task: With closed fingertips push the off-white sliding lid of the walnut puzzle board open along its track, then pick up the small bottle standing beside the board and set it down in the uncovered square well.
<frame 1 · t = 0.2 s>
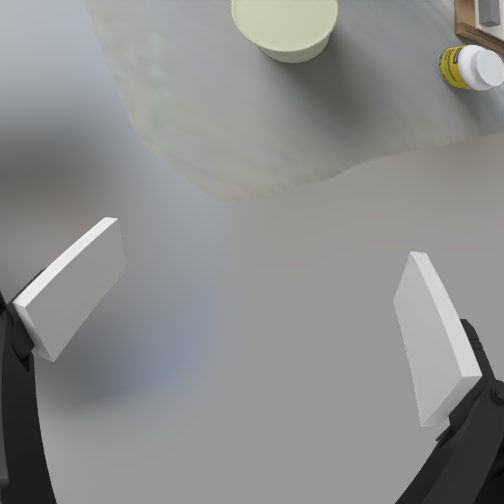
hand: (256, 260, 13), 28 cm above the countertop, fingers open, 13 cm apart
supplement bottle: (453, 68, 27), on the countertop
can: (291, 28, 29), on the countertop
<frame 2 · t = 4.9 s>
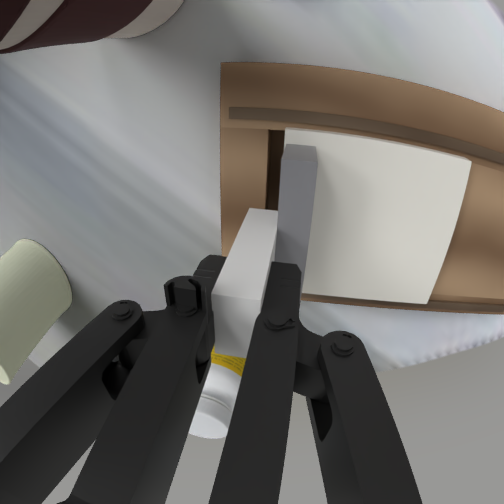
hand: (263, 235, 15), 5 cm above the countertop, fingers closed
supplement bottle: (231, 320, 25), on the countertop
lid: (376, 239, 15), point 4 cm above the countertop, slide at 1.4 cm, touching gripper
board: (405, 197, 17), on the countertop
can: (41, 275, 27), on the countertop
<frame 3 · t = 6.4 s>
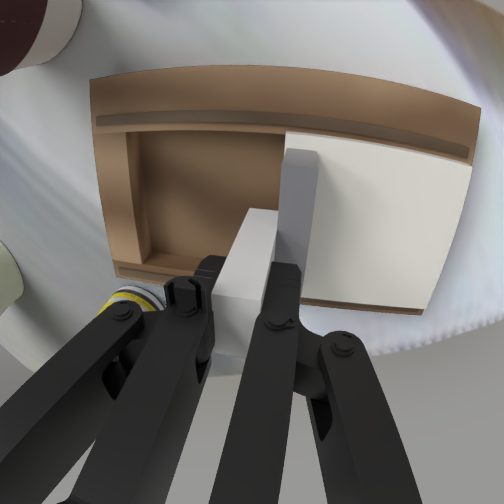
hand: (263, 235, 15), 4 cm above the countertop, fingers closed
supplement bottle: (141, 307, 26), on the countertop
coffee cup: (51, 20, 14), on the countertop
lid: (376, 245, 15), point 4 cm above the countertop, slide at 9.6 cm, touching gripper
board: (275, 185, 18), on the countertop
can: (1, 265, 28), on the countertop
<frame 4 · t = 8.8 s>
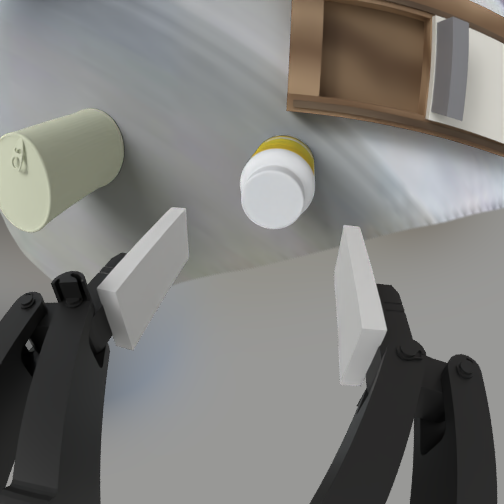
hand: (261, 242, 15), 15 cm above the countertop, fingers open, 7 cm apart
supplement bottle: (284, 162, 28), on the countertop
lid: (490, 84, 16), point 4 cm above the countertop, slide at 9.6 cm
board: (415, 55, 20), on the countertop
can: (91, 148, 30), on the countertop
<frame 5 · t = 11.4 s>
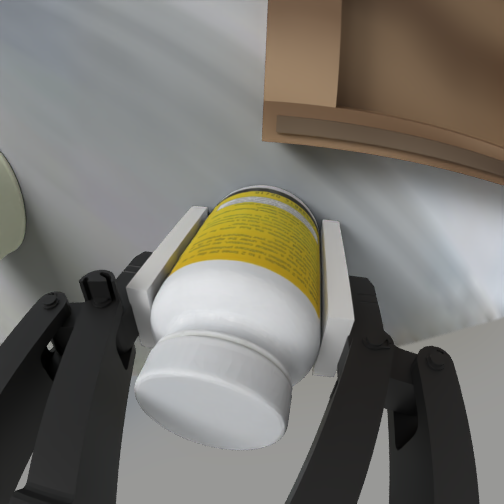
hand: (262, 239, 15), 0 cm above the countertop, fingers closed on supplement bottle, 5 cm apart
supplement bottle: (263, 233, 15), on the countertop, touching gripper
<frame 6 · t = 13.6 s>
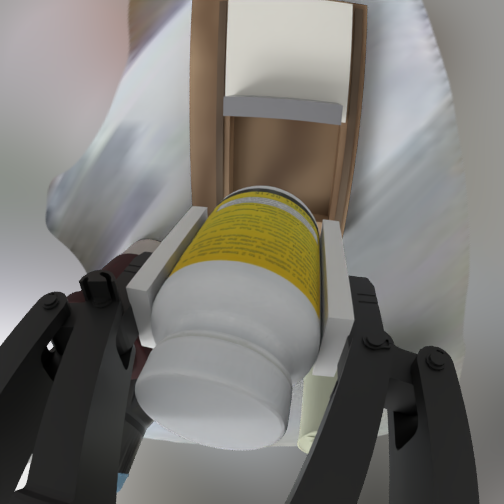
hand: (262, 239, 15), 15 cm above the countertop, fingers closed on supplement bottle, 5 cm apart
supplement bottle: (263, 234, 15), point 14 cm above the countertop, touching gripper
coffee cup: (156, 263, 36), on the countertop
lid: (286, 52, 19), point 4 cm above the countertop, slide at 9.6 cm
board: (275, 118, 25), on the countertop
can: (335, 372, 41), on the countertop
when the fingers open (2 cm above the countertop, at t = 16.1 s): supplement bottle drops 1 cm, resting on board.
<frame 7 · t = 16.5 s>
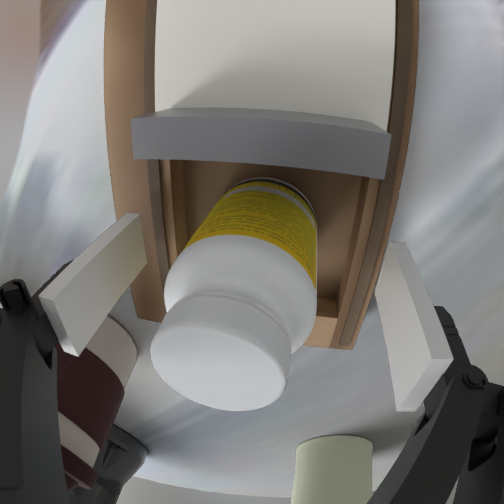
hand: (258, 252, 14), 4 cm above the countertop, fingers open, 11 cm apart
supplement bottle: (265, 222, 17), resting on board
coffee cup: (105, 335, 25), on the countertop
lid: (267, 18, 8), point 4 cm above the countertop, slide at 9.6 cm
board: (252, 144, 15), on the countertop
can: (334, 448, 30), on the countertop
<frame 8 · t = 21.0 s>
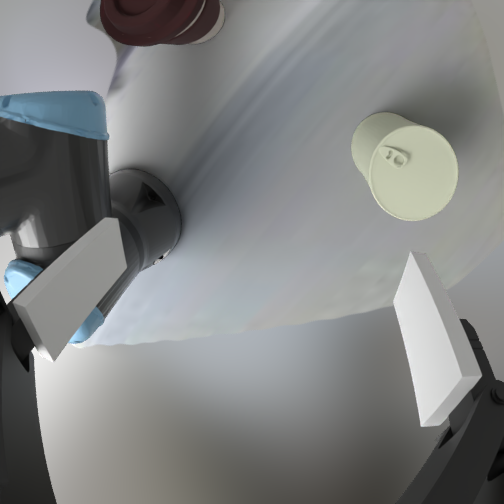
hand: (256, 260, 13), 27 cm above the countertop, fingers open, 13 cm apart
coffee cup: (197, 19, 29), on the countertop
can: (386, 148, 34), on the countertop
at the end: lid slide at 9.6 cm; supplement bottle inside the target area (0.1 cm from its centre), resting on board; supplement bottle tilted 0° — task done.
